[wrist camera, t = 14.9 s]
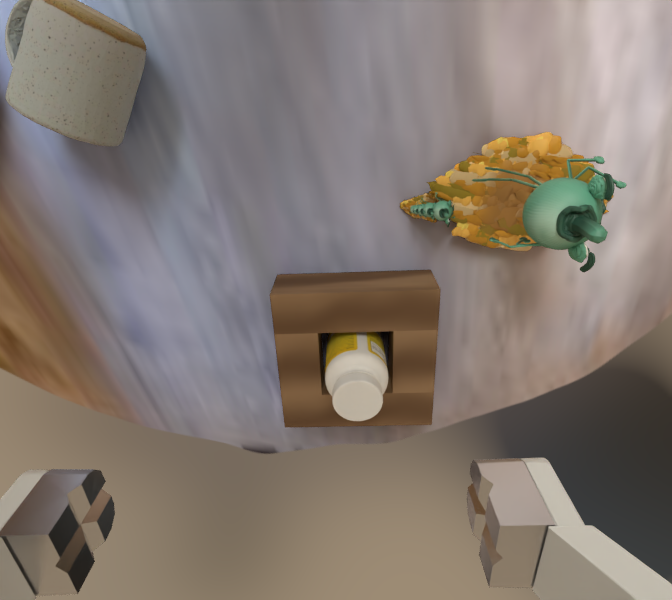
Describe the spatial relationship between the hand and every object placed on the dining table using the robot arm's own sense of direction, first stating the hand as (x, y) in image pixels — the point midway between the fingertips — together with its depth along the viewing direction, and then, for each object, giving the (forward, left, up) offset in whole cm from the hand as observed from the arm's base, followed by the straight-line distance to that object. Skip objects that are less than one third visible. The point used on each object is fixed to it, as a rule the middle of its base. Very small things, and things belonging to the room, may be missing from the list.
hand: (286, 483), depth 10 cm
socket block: (+14, +2, -30) cm, 33 cm away
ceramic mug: (-10, -18, -31) cm, 37 cm away
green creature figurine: (0, +15, -31) cm, 34 cm away
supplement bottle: (+14, +2, -31) cm, 34 cm away
